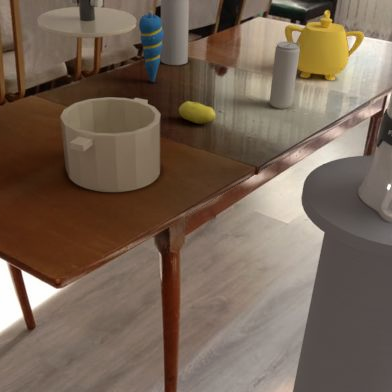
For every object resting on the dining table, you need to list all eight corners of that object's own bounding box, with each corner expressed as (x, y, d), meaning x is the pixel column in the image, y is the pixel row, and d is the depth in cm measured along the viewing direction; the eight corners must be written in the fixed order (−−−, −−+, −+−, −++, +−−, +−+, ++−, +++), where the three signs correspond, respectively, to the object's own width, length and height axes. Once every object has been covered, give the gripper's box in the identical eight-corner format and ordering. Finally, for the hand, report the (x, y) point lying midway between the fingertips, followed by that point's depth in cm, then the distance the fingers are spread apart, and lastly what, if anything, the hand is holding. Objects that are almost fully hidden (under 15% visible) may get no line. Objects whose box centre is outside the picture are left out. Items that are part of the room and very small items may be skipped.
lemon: (185, 114, 127) (186, 94, 124) (219, 123, 124) (220, 104, 121) (173, 120, 124) (174, 100, 122) (207, 130, 121) (208, 110, 118)
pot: (181, 156, 112) (183, 102, 106) (125, 208, 97) (122, 150, 91) (104, 138, 117) (101, 86, 110) (39, 185, 102) (31, 129, 96)
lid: (153, 22, 112) (153, -17, 108) (106, 47, 100) (103, 4, 96) (72, 9, 116) (69, -30, 112) (18, 31, 105) (12, -11, 101)
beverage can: (265, 106, 132) (272, 45, 124) (273, 99, 135) (280, 39, 127) (287, 111, 130) (295, 49, 122) (295, 103, 133) (303, 43, 125)
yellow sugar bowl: (361, 76, 148) (372, 21, 140) (318, 87, 142) (327, 30, 134) (319, 59, 156) (328, 7, 149) (277, 69, 150) (283, 14, 142)
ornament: (155, 87, 137) (154, 12, 128) (135, 83, 139) (133, 8, 129) (167, 81, 141) (168, 7, 131) (148, 76, 143) (147, 3, 133)
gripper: (148, -91, 96) (149, 9, 105) (36, -103, 102) (46, -8, 111) (129, -86, 92) (131, 18, 101) (12, -99, 97) (25, 0, 107)
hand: (86, 4), depth 106 cm, fingers closed on lid, 2 cm apart
